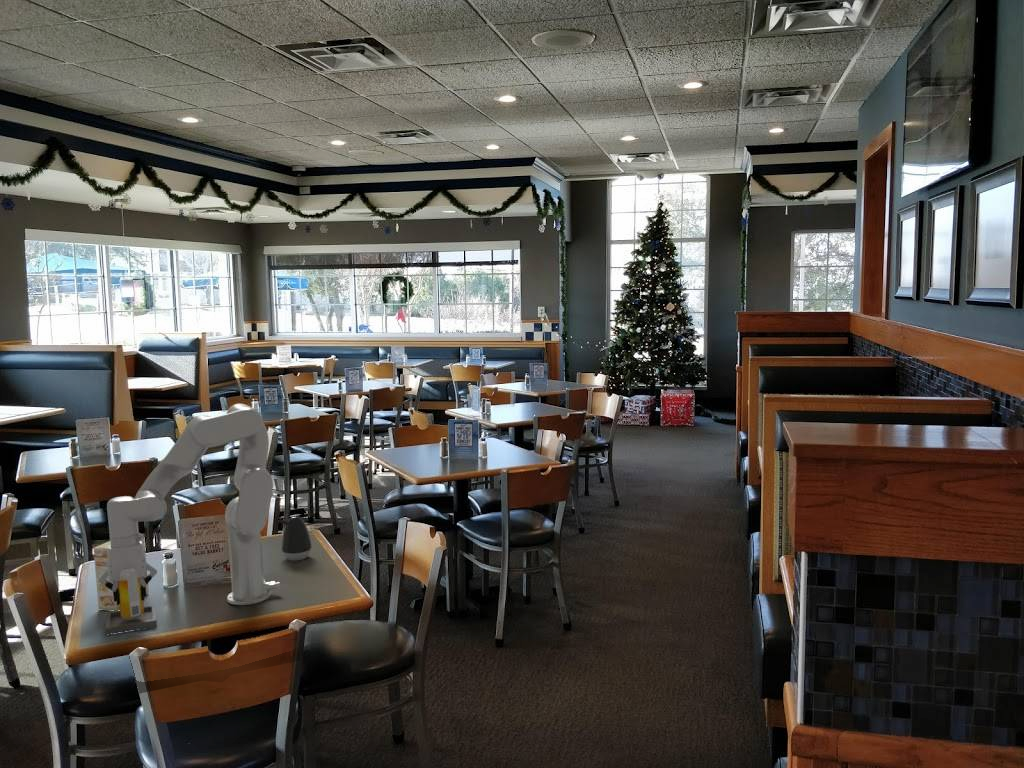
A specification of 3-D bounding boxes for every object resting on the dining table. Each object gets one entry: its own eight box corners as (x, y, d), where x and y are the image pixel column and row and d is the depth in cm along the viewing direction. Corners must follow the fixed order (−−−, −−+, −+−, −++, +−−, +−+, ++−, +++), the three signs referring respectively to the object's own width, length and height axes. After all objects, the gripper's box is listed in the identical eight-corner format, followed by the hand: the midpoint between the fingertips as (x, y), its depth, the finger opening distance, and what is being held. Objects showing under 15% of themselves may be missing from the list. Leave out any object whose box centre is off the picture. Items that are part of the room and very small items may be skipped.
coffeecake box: (118, 612, 253) (112, 549, 251) (97, 610, 255) (91, 547, 253) (150, 593, 268) (145, 533, 265) (130, 592, 270) (125, 532, 267)
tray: (155, 611, 254) (155, 604, 253) (156, 626, 242) (156, 620, 241) (107, 619, 248) (106, 612, 248) (106, 635, 237) (105, 629, 236)
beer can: (137, 610, 249) (132, 560, 247) (148, 614, 245) (143, 564, 243) (117, 616, 244) (112, 566, 243) (127, 621, 241) (122, 570, 239)
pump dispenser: (282, 555, 302) (280, 513, 300) (312, 552, 304) (310, 511, 302) (280, 564, 292) (277, 521, 290) (311, 562, 294) (308, 519, 292)
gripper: (157, 532, 249) (162, 591, 251) (91, 541, 242) (97, 602, 244) (158, 539, 242) (163, 600, 244) (90, 548, 235) (96, 611, 237)
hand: (130, 600), depth 244 cm, fingers closed on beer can, 5 cm apart
